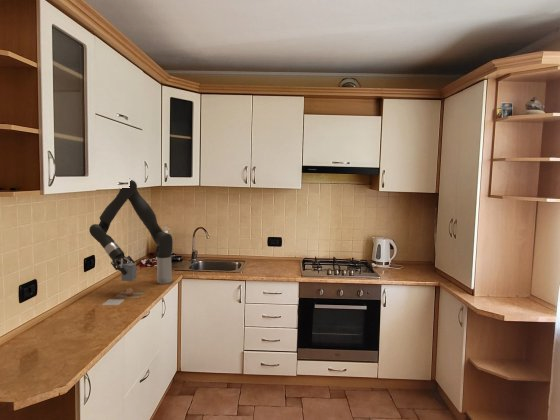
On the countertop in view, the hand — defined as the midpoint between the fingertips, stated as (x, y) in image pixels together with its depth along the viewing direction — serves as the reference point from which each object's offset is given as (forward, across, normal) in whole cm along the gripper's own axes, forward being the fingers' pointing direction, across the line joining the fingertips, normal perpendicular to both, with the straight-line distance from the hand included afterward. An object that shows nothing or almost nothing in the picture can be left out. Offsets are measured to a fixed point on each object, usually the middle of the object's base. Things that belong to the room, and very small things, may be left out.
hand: (130, 272), depth 220 cm
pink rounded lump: (+9, 0, +10) cm, 13 cm away
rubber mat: (+10, -13, +11) cm, 20 cm away
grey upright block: (+2, 0, +4) cm, 4 cm away
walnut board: (+9, 0, +11) cm, 14 cm away
